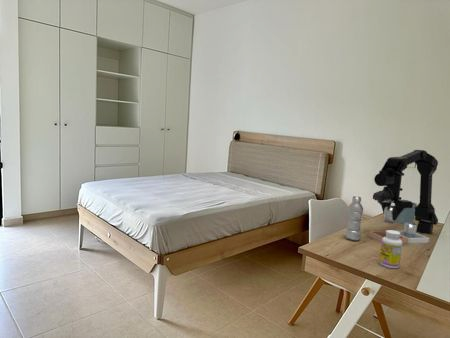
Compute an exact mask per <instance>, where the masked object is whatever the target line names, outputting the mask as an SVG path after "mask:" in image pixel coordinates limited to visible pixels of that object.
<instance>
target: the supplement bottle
mask: <svg viewBox="0 0 450 338" xmlns="http://www.w3.org/2000/svg"><path fill="white" fill-rule="evenodd" d="M385 231H386V237H384V238H383V239H382V242H381V245H380V254H379V255H380V256H379V264H380V265H381V266H383V267H386V268H389V269H398V268H399V267H400V265H401V256H402V248H403V244H402V241H401V240H400V239H399V237H400V232H397V231H398V230H393V229H392V230H391V229H388V230H385Z"/></svg>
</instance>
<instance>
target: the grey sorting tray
mask: <svg viewBox="0 0 450 338" xmlns="http://www.w3.org/2000/svg"><path fill="white" fill-rule="evenodd" d="M386 231H387V230H369V231H368V234H367V237H369V238H370V237H371V239H374V240H375V241H377V242H378V241H379V243H382V239H383V238H384V237H386ZM396 231H397V232H400V237H399V239H400V240H401V241H402V245H404V244H430V243H431V242H430V237H428V236H425V235H423V234H421V233H419V232H416V237H415V238H407V237H405V236H403V233H404V230H396Z"/></svg>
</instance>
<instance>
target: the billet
mask: <svg viewBox="0 0 450 338" xmlns="http://www.w3.org/2000/svg"><path fill="white" fill-rule="evenodd" d="M403 225H404V227H403V231H404V233H403V236H405V237H407V238H415V237H416V233H417V225H418V224H415V223H405V224H403Z"/></svg>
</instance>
